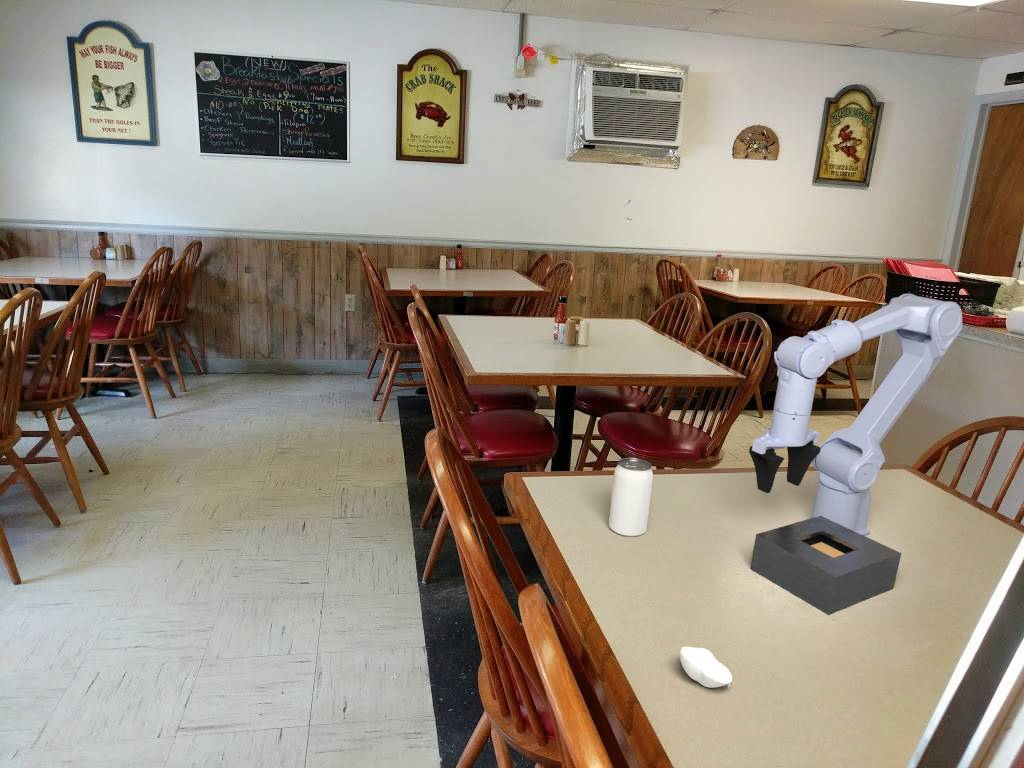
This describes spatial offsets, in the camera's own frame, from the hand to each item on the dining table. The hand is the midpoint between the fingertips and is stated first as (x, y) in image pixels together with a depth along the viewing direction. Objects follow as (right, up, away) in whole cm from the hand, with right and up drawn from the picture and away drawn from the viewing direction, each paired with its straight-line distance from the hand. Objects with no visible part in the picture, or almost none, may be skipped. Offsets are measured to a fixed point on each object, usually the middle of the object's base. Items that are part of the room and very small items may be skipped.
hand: (778, 487), depth 122 cm
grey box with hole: (+3, -13, -10) cm, 17 cm away
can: (-25, -8, +2) cm, 26 cm away
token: (+3, -12, -10) cm, 16 cm away
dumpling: (-22, -18, -36) cm, 46 cm away
